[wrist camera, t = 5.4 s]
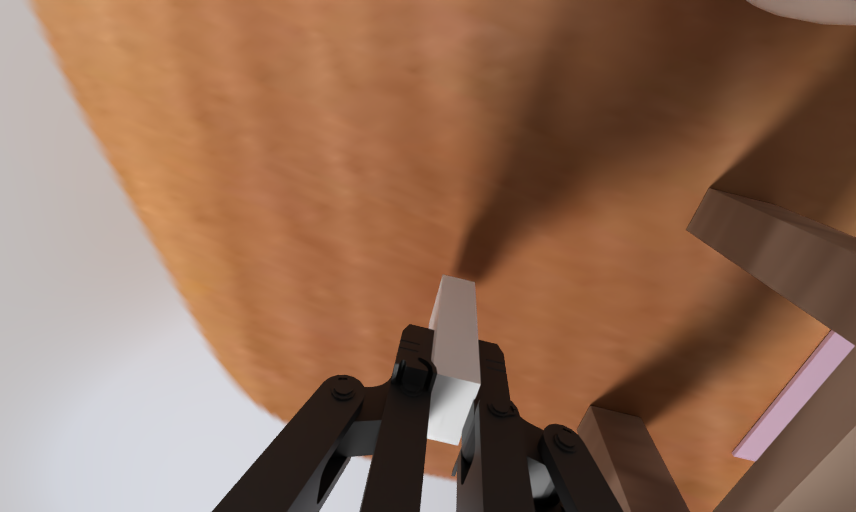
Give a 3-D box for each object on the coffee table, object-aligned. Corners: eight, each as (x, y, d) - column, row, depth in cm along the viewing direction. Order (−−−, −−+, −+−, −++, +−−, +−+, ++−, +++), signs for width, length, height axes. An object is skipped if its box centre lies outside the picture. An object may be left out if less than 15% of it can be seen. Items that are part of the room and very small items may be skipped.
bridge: (576, 430, 23) (645, 644, 15) (709, 187, 17) (971, 306, 8) (625, 441, 23) (723, 661, 15) (775, 204, 17) (1105, 339, 8)
